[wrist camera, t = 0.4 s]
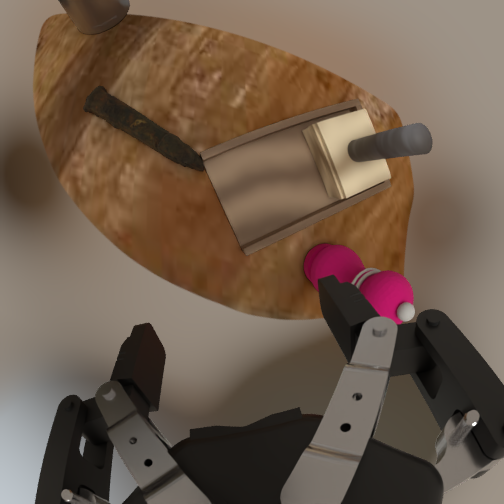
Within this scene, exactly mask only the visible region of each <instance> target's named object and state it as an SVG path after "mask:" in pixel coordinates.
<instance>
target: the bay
mask: <svg viewBox="0 0 504 504" xmlns="http://www.w3.org/2000/svg"><path fill="white" fill-rule="evenodd" d="M362 109H363V108H362V106H361V104H360V102H359V99H355V100H351V101H347V102H343V103H339V104H335V105H332V106H328V107H325V108H321V109H318V110H314V111H311V112H308V113H304V114H301V115H298V116H295V117H292V118H289V119H286V120H283V121H280V122H277V123H274V124H271V125H268V126H266V127H263V128H260V129H257V130H255V131H252V132H249V133H247V134H244V135H242V136H239V137H236V138H234V139H231V140H229V141H226V142H224V143H222V144H219V145H217V146H214V147H212V148H210V149H207V150H205V151H203V152H201V153H200V158H201V160H202V161H203V164H204V167H205V169H206V172H207V174H208V176H209V178H210V180H211V183H212V185H213V187H214V189H215V192H216V194H217V196H218V198H219V200H220V203H221V205H222V207H223V209H224V211H225V214H226V216H227V218H228V220H229V222H230V225H231V227H232V229H233V231H234V233H235V236H236V238H237V240H238V242H239V244H240V247H241V249H242V251H243V252H244V254H245V255H246V256H248V255H250V254H252V253H254V252H256V251H258V250H260V249H262V248H264V247H267V246H269V245H271V244H273V243H275V242H277V241H279V240H281V239H283V238H285V237H287V236H289V235H292V234H294V233H296V232H298V231H300V230H302V229H304V228H306V227H308V226H310V225H312V224H314V223H316V222H319V221H321V220H323V219H325V218H327V217H329V216H331V215H333V214H335V213H337V212H339V211H341V210H344V209H346V208H348V207H350V206H352V205H354V204H356V203H358V202H360V201H362V200H364V199H366V198H368V197H371V196H373V195H375V194H377V193H379V192H381V191H383V190H385V189H387V188H389V187H391V184H390V180H389V179H387V180H385V181H383V182H381V183H378V184H376V185H374V186H372V187H370V188H368V189H366V190H363V191H361V192H359V193H357V194H355V195H353V196H350V197H348V198H344V199H337V198H333V197H329V196H328V193H327V190H326V188H325V185H324V183H323V180H322V177H321V175H320V172H319V170H318V167H317V165H316V162H315V160H314V158H313V155H312V153H311V150H310V148H309V146H308V143H307V141H306V139H305V136H304V134H303V132H302V131H303V130H305V129H306V128H308V126H310V125H312V124H315V123H318V122H321V121H324V120H327V119H330V118H334V117H337V116H340V115H344V114H347V113H351V112H354V111H358V110H362Z"/></svg>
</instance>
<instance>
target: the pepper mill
mask: <svg viewBox="0 0 504 504" xmlns="http://www.w3.org/2000/svg"><path fill="white" fill-rule="evenodd" d="M304 272H305V274H306V276H307V278H308V279H309V280H310V281H311V282H312V283H313V285H314V287H315V288H316V290H317V291H318V292H319V289H318V279H320V278H323V277H326V276H330V275H335V277H336V278H337V279H338V281H339V282H340V283H343V282H349V283H351V284H353V285H355V286H356V287H357V288H358V289H359V290H360V292H361V294H363V295H364V296H365V299H367V300H368V301H369V303H370V304H371V305H372V306H373V307H374V309H375V310H376V311H377V312H378V314H379V315H380V316H381V317H387V318H390V319H392V320H393V321H394V322H395V323H396V324H401V323H402V322H403V321H409V320H410V319H412V318H413V316H414V313H415V309H414V307H413V291H412V288H411V285H410V284H409V282H408V281H407V280H406V278H405V277H404V276H402V275H401V274H399V273H397V272H393V271H380V270H378V269H376V268H367V269H365V267H364V265H363V263H362V261H361V259H360V258H359V257H358V255H357V254H356V253H355V252H354V251H352V250H351V249H349V248H348V247H345V246H343V245H330V244H319V245H317V246H315V247H313V248H312V249H311V250H310V251H309V252H308V254H307V256H306V258H305V261H304Z"/></svg>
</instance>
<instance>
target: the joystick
mask: <svg viewBox="0 0 504 504" xmlns="http://www.w3.org/2000/svg"><path fill="white" fill-rule="evenodd" d="M302 132H303V134H304V136H305V139H306V141H307V143H308V146H309V148H310V150H311V153H312V155H313V158H314V160H315V162H316V165H317V167H318V170H319V172H320V175H321V177H322V180H323V183H324V185H325V188H326V190H327V193H328V196H329V197H333V198H337V199H344V198H348V197H350V196H353V195H355V194H357V193H359V192H361V191H363V190H366V189H368V188H370V187H372V186H374V185H376V184H378V183H381V182H383V181H385V180H387V179H389V178H391V175H390V172H389V169H388V166H387V163H386V160H385V159H387V158H395V157H403V156H412V155H420V154H427V153H429V152H430V151H431V148H432V137H431V134H430V132H429V130H428V128H427V127H426V126H425V125H423V124H421V123H416V124H411V125H407V126H403V127H399V128H395V129H391V130H387V131H384V132H380V133H375V130H374V128H373V125H372V123H371V120H370V118H369V116H368V113H367V111H366V109H362V110H358V111H354V112H351V113H347V114H344V115H340V116H337V117H334V118H330V119H327V120H324V121H321V122H318V123H315V124H312V125H310V126H308V128H306V129H305V130H303V131H302Z"/></svg>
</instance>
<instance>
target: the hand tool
mask: <svg viewBox="0 0 504 504" xmlns="http://www.w3.org/2000/svg"><path fill="white" fill-rule="evenodd" d="M83 109H84V111H85V112H90V113H92V112H93V113H94V114H95V115H96V116H98V117H99V116H100V117H102V118H103V119H104V120H106V121H107V122H109V123H110V124H111V125H112V126H113V127H115V128H118V129H121V130H123V131H124V132H126V133H128V134H130V135H131V136H133V137H135V138H136V139H138V140H140V141H141V142H143V143H144V144H146V145H147V146H149V147H151V148H152V149H154V150H156V151H157V152H159V153H161V154H162V155H163V156H165V157H166V158H168V159H170V160H172V161H174V162H176V163H178V164H181V165H182V166H184V167H186V166H187V167H190V168H192V169H196V170H199V171H204V164H203V161H202V160H201V158H200V157H199V155H198V154H197V153H196V152H195V151H194V150H193V149H192V148H191V147H190V146H189V145H187V144H185V143H183V142H182V141H181V140H180V139H179V138H178V137H177V136H175V135H173V134H171V133H169V132H168V131H166V130H165V129H163V128H162V127H160V126H159V125H157V124H155V123H154V122H153V121H151V120H150V119H148V118H147V117H146V116H144V115H142V114H141V113H139V112H138V111H136V110H135V109H133V108H131V107H130V106H128V105H127V104H125V103H124V102H122V101H120V100H119V99H117V98H115V97H114V96H111V95H110V94H108V93H107V91H106V89H105V88H104V87H103V86H98V87H97V88H95V89H94V91H93V92H92V93H91V94H90V95H89V96H88V97H87V99H86V103H85V105H84V108H83Z"/></svg>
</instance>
